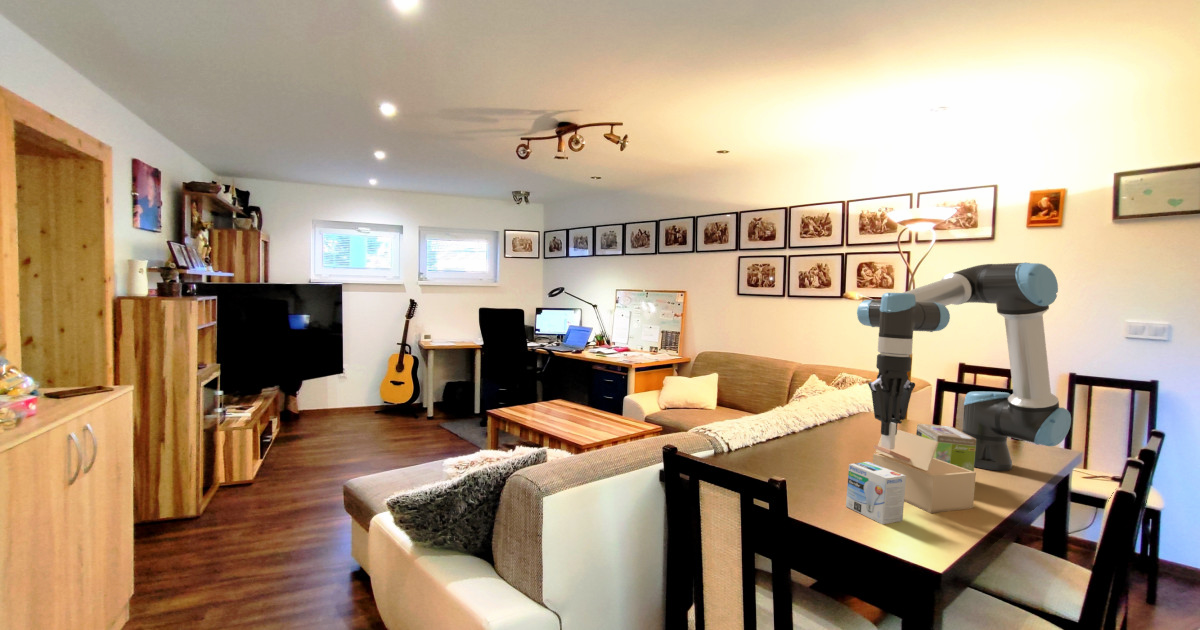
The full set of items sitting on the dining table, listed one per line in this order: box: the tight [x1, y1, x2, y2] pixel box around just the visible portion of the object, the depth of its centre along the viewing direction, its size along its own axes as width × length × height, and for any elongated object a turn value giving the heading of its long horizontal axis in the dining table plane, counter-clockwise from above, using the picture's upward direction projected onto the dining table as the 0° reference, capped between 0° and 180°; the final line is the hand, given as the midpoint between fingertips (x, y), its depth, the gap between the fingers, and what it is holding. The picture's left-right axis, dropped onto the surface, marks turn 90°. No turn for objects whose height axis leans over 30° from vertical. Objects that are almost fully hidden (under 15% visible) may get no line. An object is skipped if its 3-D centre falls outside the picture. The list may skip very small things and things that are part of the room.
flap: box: [872, 428, 939, 471], centre depth 135 cm, size 8×15×8 cm
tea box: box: [915, 423, 976, 472], centre depth 152 cm, size 15×10×15 cm, turn 168°
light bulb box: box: [845, 461, 906, 525], centre depth 126 cm, size 11×7×11 cm, turn 23°
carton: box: [872, 452, 977, 514], centre depth 139 cm, size 14×18×9 cm
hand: (887, 447), depth 135 cm, fingers closed
